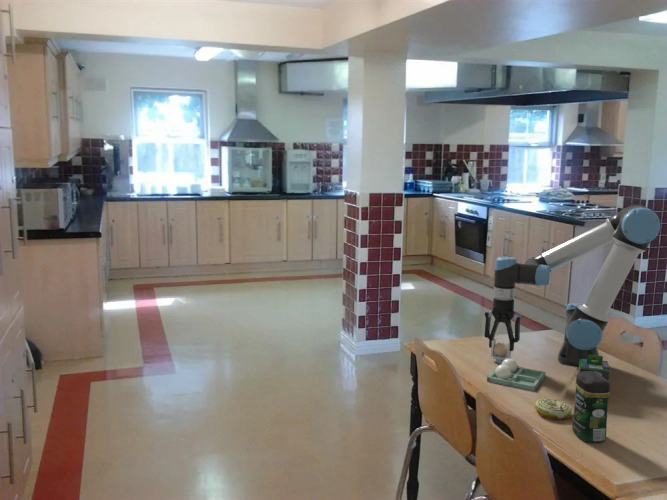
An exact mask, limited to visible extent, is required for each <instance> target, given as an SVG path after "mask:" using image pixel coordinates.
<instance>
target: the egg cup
mask: <svg viewBox="0 0 667 500" xmlns="http://www.w3.org/2000/svg"><path fill="white" fill-rule="evenodd" d="M492 359H495V363H497V364H502V362H503V361H504V360H505V359H507V355H505V356H503V357H500V356H498V355H496V354H495V355H494V356H493V357H492Z"/></svg>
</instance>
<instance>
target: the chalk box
mask: <svg viewBox="0 0 667 500" xmlns="http://www.w3.org/2000/svg"><path fill="white" fill-rule="evenodd" d="M592 358H597V359H598V360H591V359H592ZM603 358H604V357H603V355H599V356H598V355H588V357H587V359H579V368H578V370H577V371H578V373H577V375H578V374H579V373H580V372H581V371H594V372H595V373H597V374H599V375H600V376H602V377H603V378H605V379H606V380H607V381H609V382H610V375H611V372H610V371H611V370H610V366H609V362H608V360H604V359H603Z"/></svg>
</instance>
